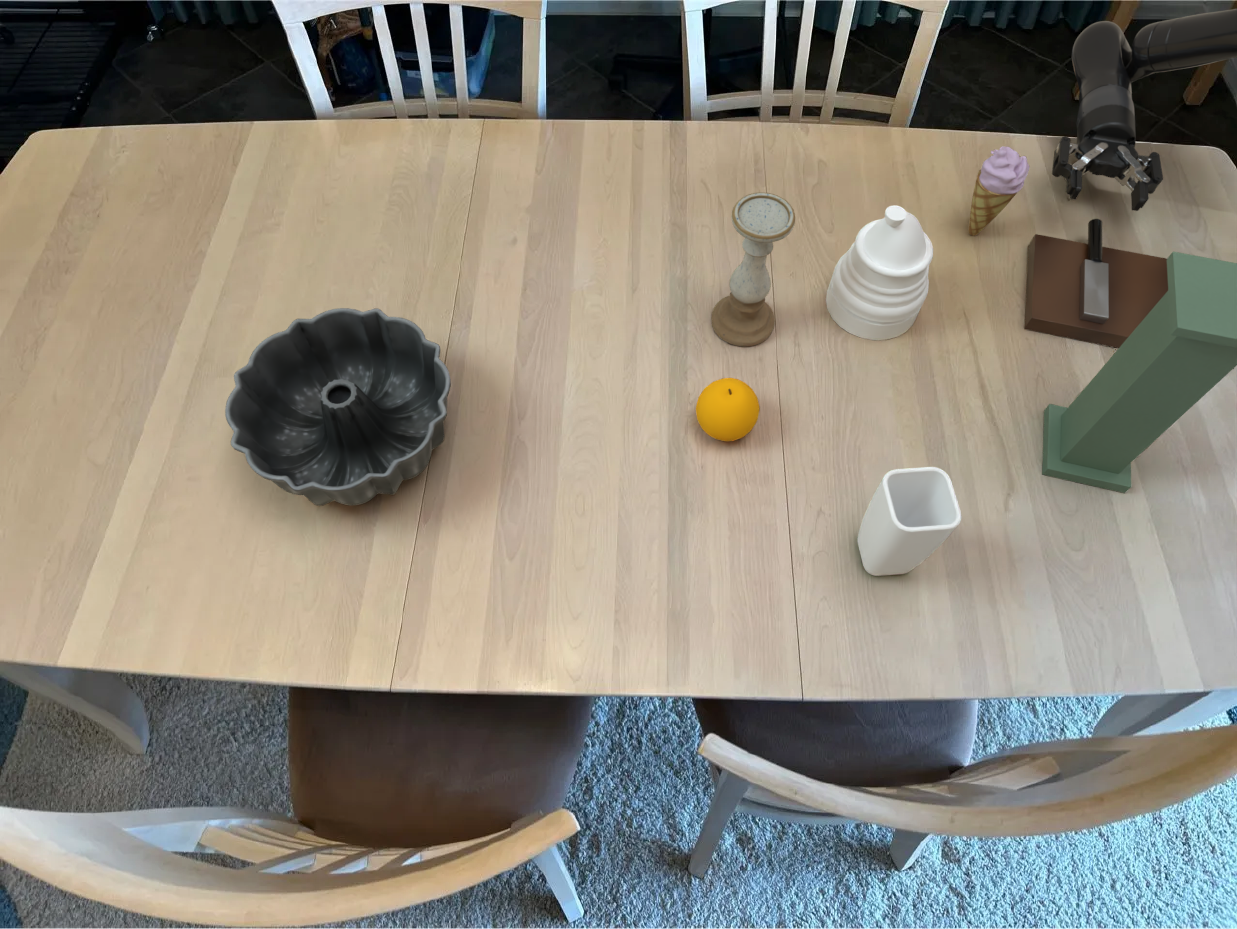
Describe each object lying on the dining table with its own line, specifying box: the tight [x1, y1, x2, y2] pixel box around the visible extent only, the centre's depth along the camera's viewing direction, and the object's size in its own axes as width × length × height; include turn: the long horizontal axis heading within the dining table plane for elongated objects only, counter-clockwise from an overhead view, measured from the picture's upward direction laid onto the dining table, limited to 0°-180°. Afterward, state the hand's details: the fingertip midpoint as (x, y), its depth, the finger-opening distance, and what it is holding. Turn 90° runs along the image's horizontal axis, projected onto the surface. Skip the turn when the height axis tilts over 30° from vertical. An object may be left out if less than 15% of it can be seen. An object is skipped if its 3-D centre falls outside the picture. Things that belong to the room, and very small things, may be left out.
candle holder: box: [710, 191, 796, 347], centre depth 108 cm, size 9×9×20 cm
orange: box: [695, 377, 761, 442], centre depth 106 cm, size 8×8×8 cm
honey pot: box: [825, 204, 934, 341], centre depth 111 cm, size 13×13×18 cm
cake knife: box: [1080, 218, 1109, 324], centre depth 117 cm, size 3×18×2 cm, turn 164°
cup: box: [856, 466, 962, 577], centre depth 94 cm, size 7×7×15 cm
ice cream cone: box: [967, 145, 1030, 237], centre depth 119 cm, size 7×6×15 cm
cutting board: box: [1023, 233, 1168, 349], centre depth 118 cm, size 20×16×2 cm
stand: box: [1041, 251, 1237, 494], centre depth 94 cm, size 10×10×30 cm
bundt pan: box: [224, 307, 452, 507], centre depth 104 cm, size 26×26×10 cm
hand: (1107, 200), depth 118 cm, fingers open, 8 cm apart
